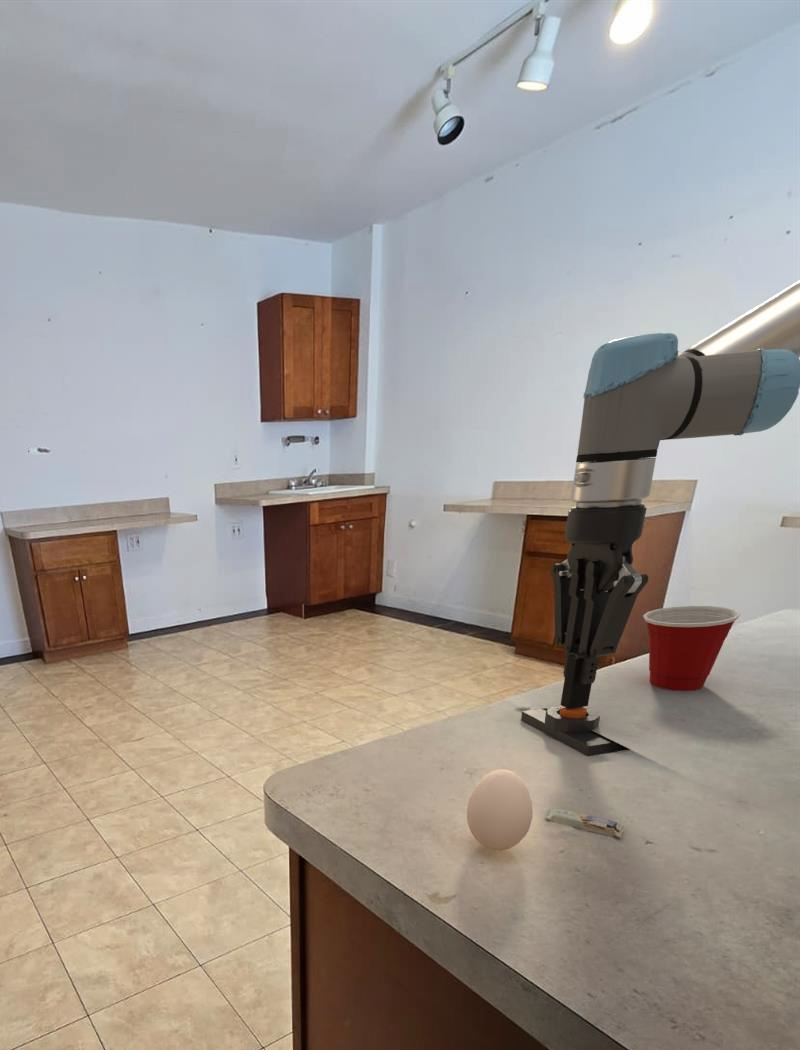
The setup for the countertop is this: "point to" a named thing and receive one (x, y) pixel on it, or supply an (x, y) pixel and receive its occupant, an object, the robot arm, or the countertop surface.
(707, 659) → the plastic cup
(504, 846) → the egg
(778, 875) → the countertop surface
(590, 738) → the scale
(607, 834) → the granola bar
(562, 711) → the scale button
